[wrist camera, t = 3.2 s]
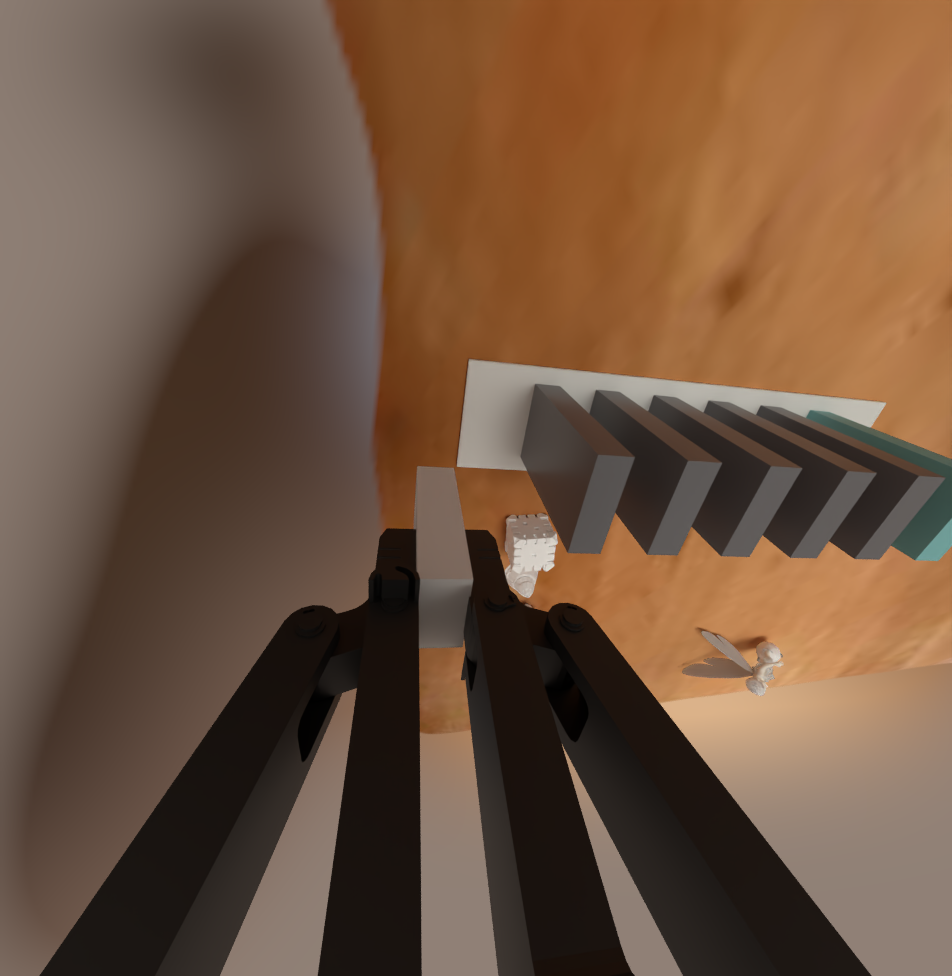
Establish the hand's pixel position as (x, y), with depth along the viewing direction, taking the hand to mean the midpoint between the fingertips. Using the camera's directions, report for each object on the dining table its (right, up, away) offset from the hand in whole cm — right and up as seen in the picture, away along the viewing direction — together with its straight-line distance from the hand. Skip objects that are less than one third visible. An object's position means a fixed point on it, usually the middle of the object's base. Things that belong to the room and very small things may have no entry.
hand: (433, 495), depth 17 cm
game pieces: (+5, -7, +16) cm, 19 cm away
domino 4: (+18, +4, +11) cm, 21 cm away
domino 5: (+22, +4, +12) cm, 25 cm away
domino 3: (+14, +4, +10) cm, 18 cm away
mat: (+16, +4, +11) cm, 20 cm away
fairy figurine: (+31, -15, +26) cm, 43 cm away
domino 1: (+6, +5, +9) cm, 12 cm away
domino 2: (+10, +4, +10) cm, 14 cm away
